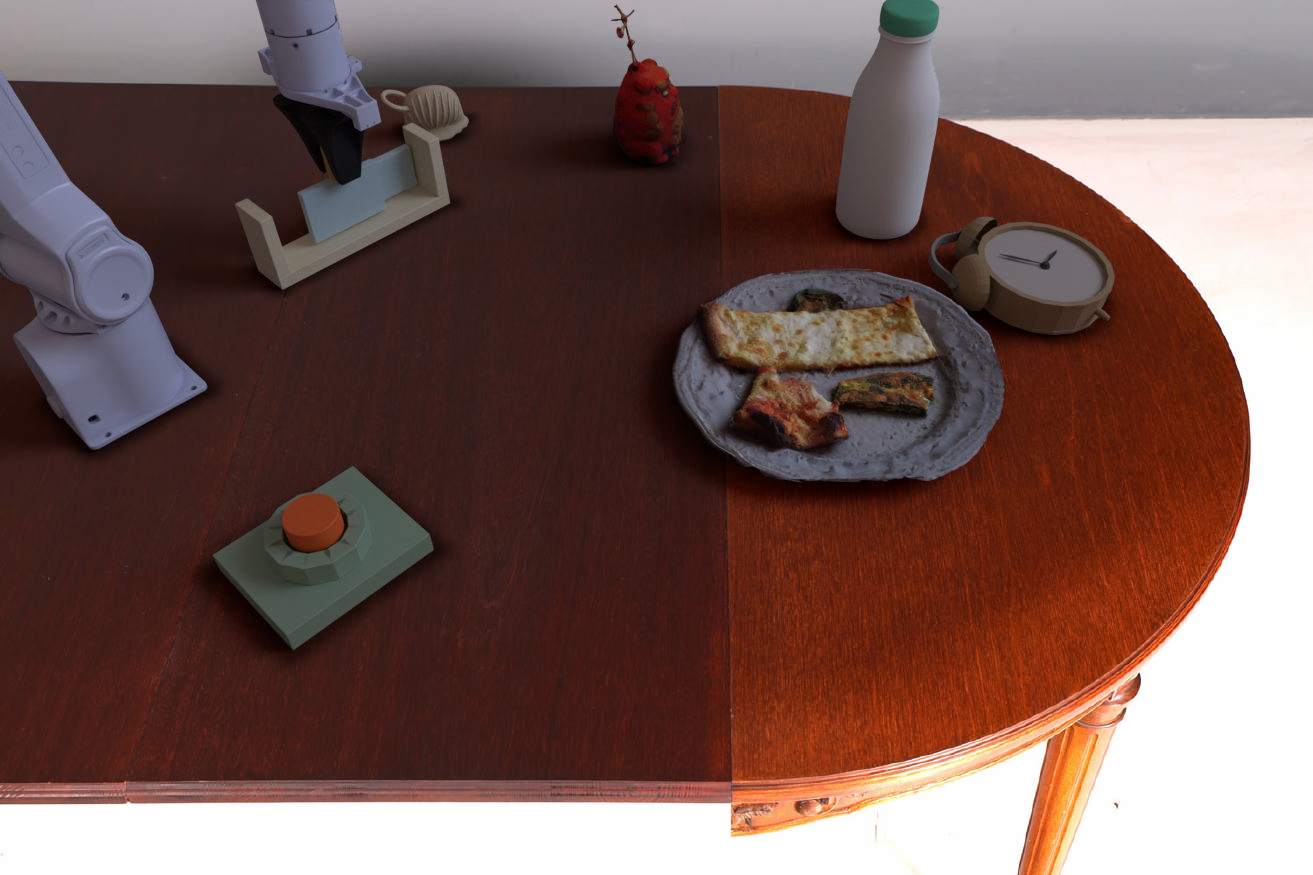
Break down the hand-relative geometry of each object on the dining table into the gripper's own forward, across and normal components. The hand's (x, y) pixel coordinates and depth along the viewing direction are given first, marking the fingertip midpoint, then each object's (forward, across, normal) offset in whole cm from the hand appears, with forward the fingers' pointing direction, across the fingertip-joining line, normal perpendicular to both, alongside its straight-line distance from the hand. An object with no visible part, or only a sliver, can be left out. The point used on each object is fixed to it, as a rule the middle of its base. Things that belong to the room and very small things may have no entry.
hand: (340, 173), depth 92 cm
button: (+3, -30, +23) cm, 38 cm away
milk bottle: (+7, -33, -35) cm, 49 cm away
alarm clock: (+7, -48, -34) cm, 59 cm away
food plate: (+7, -44, -14) cm, 47 cm away
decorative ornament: (+7, +10, -16) cm, 20 cm away
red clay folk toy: (+7, -9, -29) cm, 31 cm away
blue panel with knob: (+5, 0, 0) cm, 5 cm away
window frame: (+7, 0, 0) cm, 7 cm away
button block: (+7, -30, +23) cm, 38 cm away
